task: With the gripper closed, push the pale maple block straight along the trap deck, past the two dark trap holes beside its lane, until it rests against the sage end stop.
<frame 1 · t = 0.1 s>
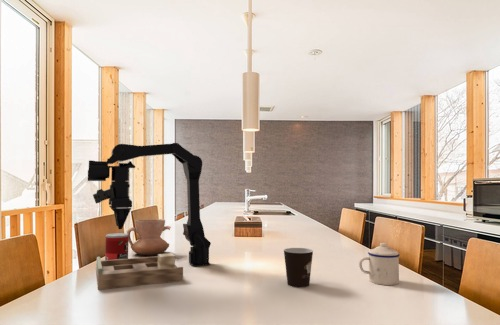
hand: (119, 227, 124), 15 cm above the table, fingers open, 9 cm apart
trap deck: (137, 276, 117), on the table
ceramic jug: (148, 254, 154), on the table
maple block: (166, 269, 116), point 2 cm above the table, touching trap deck
coffee mug: (302, 284, 110), on the table
canned food: (116, 265, 133), on the table
teacup with lid: (379, 282, 113), on the table
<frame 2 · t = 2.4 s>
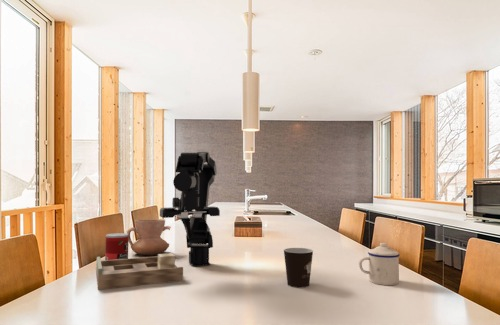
hand: (189, 238, 120), 12 cm above the table, fingers closed
nothing on the table moved.
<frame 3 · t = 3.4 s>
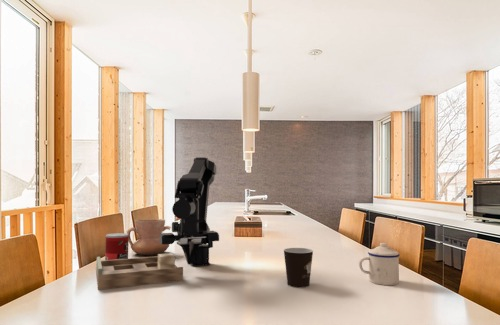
hand: (189, 264, 120), 4 cm above the table, fingers closed
nothing on the table moved.
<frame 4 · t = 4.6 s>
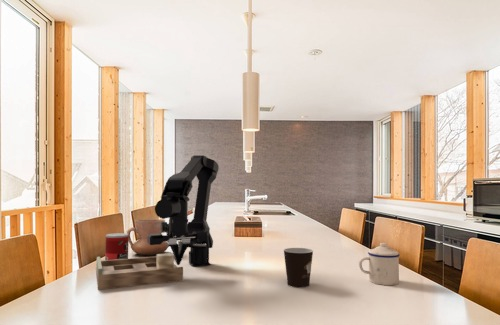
hand: (178, 264, 118), 4 cm above the table, fingers closed
maple block: (164, 269, 116), point 3 cm above the table, touching gripper
everything else where it was.
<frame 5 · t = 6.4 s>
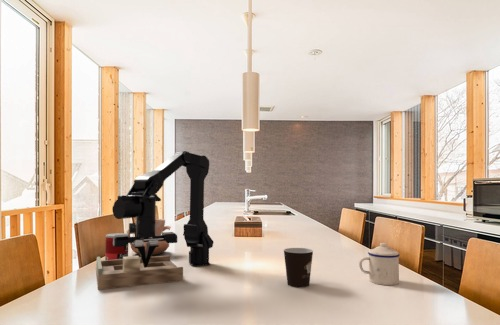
hand: (145, 267, 114), 4 cm above the table, fingers closed
maple block: (131, 272, 112), point 2 cm above the table, touching gripper, trap deck
everything else where it was.
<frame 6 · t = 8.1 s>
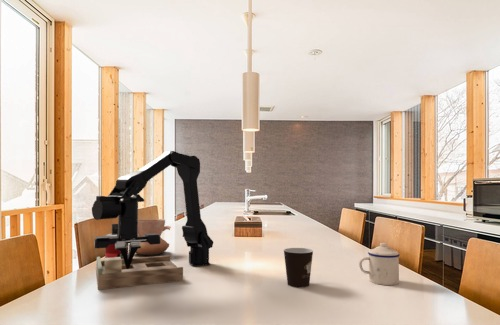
hand: (127, 269, 112), 4 cm above the table, fingers closed
maple block: (112, 274, 110), point 2 cm above the table, touching gripper, trap deck
everything else where it was.
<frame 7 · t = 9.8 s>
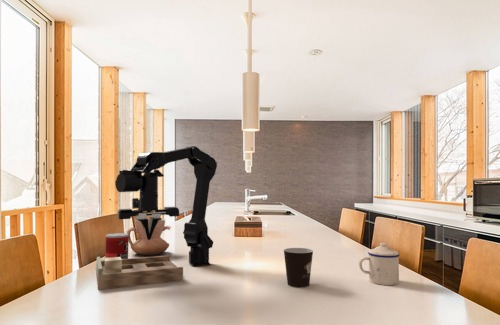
hand: (148, 239, 119), 11 cm above the table, fingers closed
maple block: (112, 274, 110), point 2 cm above the table, touching trap deck
everything else where it was.
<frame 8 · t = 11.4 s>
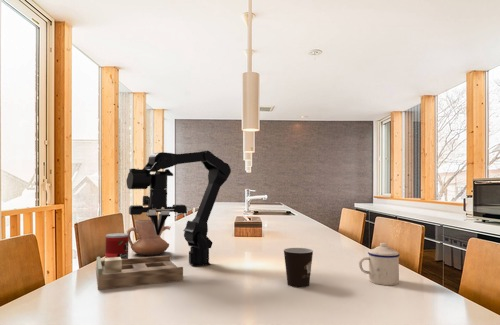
hand: (157, 234, 126), 12 cm above the table, fingers closed
nothing on the table moved.
at the end: maple block 0.2 cm from the target spot, point 2.5 cm above the table; maple block tilted 0° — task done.
